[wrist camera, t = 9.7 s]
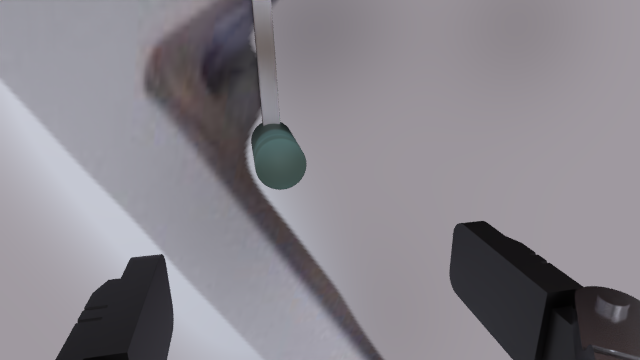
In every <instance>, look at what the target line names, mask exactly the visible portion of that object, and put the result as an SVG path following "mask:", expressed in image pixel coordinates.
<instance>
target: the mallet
mask: <svg viewBox="0 0 640 360" xmlns="http://www.w3.org/2000/svg"><path fill="white" fill-rule="evenodd" d="M252 9H253V20H254V31H255V43H256V54H257V65H258V77H259V88H260V99H261V111H262V122H263V123H261V124H260V125H259V126H257V127H256V129H255V130H254V132H253V134H252V139H251V143H252V150H253V156H254V162H255V169H256V173H257V176H258V178H259V179H260V180H261V182H262V183H264V184H265V185H266V186H268V187H270V188H273V189H280V190H281V189H287V188H290V187H292V186H294V185H296V184H297V183H298V182H299V181H300V180H301V179H302V177H303V176H304V173H305V170H306V159H305V156H304V153H303V152H302V150H301V148H300V147H299V145H298V143H297V142H296V140H295V138H294V137H293V135H292V133H291V132H290V130H289V128H288V127H287V126H286V125H284V124H283V123H281V122H280V115H279V101H278V88H277V76H276V61H275V47H274V34H273V20H272V7H271V0H252Z"/></svg>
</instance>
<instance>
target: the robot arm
mask: <svg viewBox="0 0 640 360" xmlns="http://www.w3.org/2000/svg"><path fill="white" fill-rule="evenodd" d="M450 280H451V285H452V287H453V290H454V291H455V293H456V294H457V295H458V297H459V298H460V299H461V300H462V301H463V302H464V304H466V306H467V307H468V308H469V309H470V310H471V311H472V313H473V314H474V315H475V316H476V317H477V318H478V320H479V321H480V322H481V323H482V324H483V325H484V327H485V328H486V329H487V330H488V331H489V332H490V334H491V335H492V336H493V337H494V338H495V339H496V340H497V342H498V343H499V344H500V345H501V346H502V347H503V349H504V350H505V351H506V352H507V353H508V354H509V355H510V357H511V358H512V359H513V360H640V301H639V300H638V299H636V298H634V297H632V296H630V295H628V294H626V293H623V292H621V291H617V290H614V289H610V288H606V287H598V286H587V287H583V286H581V285H580V284H579V283H577V282H576V281H574V280H573V279H571V278H570V277H569V276H567V275H566V274H565V273H563V272H562V271H560V270H559V269H557V268H556V267H555V266H553V265H552V264H550V263H547V261H546V260H545V259H543V258H542V257H541V256H539V255H536V254H535V252H534V251H532V250H531V249H530V248H528V247H527V246H525V245H524V244H522V243H520V242H518V241H516V240H513V239H511V238H509V237H506V236H504V235H503V234H501V233H500V232H499V231H497V230H496V229H495V228H493V227H492V226H491V225H489V224H488V223H487V222H485V221H477V222H468V223H459V224H457V225H456V226H455V228H454V233H453V243H452V252H451V263H450ZM84 309H85V310H84V311H82V313H81V315H80V317H79V318H78V323H76V324H75V326H74V327H73V329H72V331H71V333H70V335H69V337H68V338H67V340H66V342H65V344H64V345H63V347H62V349H61V351H60V353H59V354H58V356H57V358H56V360H167V356H168V351H169V346H170V342H171V337H172V332H173V305H172V299H171V293H170V287H169V281H168V274H167V268H166V262H165V258H164V256H163V255H162V254H161V255H151V256H142V257H133V258H131V259H130V260H129V262H128V264H127V267H126V269H125V271H124V273H123V275H122V277H121V279H112V280H108V281H107V282H105V283H104V284H103V285H102V286H101V287H100V288H98V289H97V290H96V291H95V292H94V293H93V294H92V295H91V297H90V299H89V301H88V303H87V304H86V306H85V308H84Z"/></svg>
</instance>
